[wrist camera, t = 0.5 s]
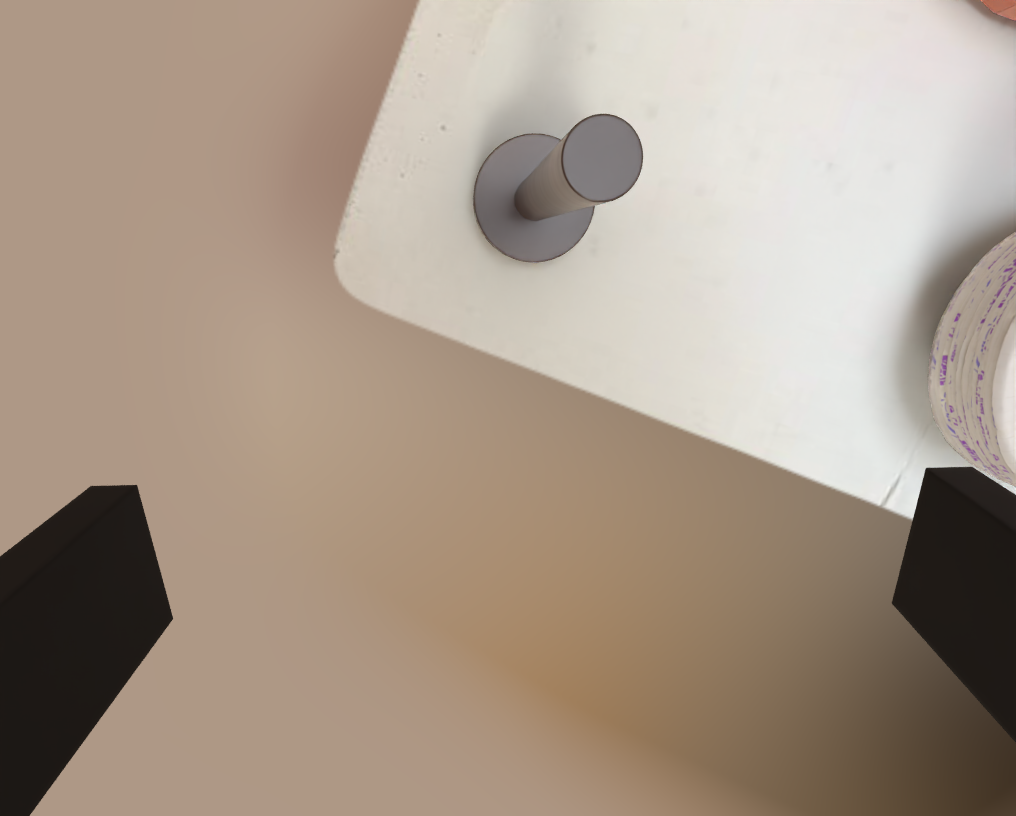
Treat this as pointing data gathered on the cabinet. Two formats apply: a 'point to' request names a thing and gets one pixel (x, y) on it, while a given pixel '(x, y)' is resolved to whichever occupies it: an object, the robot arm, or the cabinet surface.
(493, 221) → the dowel on disc base
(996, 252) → the paper bowls
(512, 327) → the cabinet surface
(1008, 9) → the bowl
